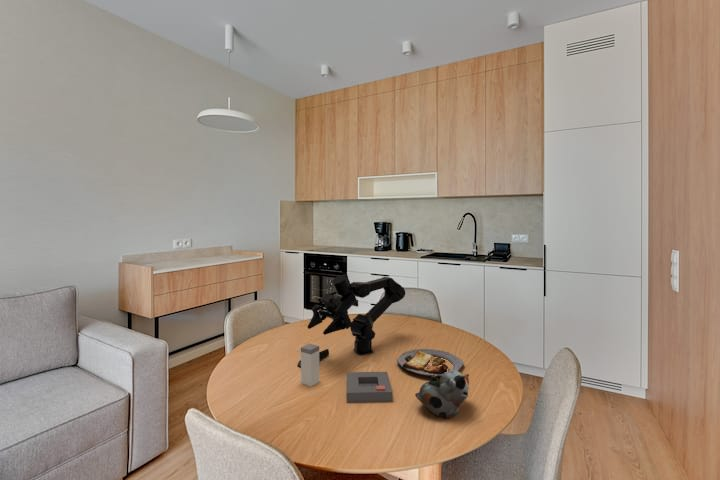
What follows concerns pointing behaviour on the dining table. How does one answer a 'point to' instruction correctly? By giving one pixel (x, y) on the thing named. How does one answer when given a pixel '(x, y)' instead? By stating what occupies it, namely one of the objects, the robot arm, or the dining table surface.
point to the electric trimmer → (321, 356)
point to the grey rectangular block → (310, 364)
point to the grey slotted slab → (368, 387)
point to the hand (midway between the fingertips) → (315, 330)
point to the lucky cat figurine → (444, 393)
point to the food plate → (421, 358)
